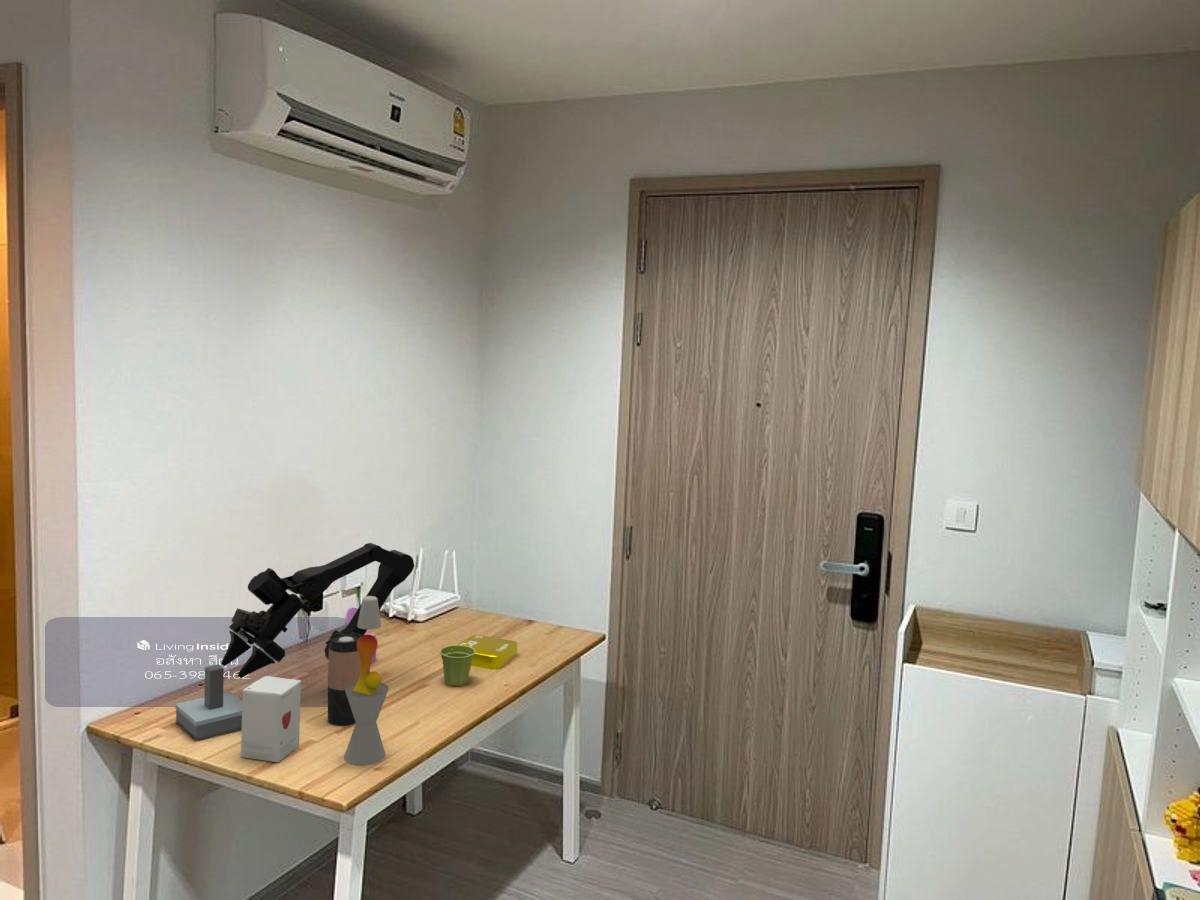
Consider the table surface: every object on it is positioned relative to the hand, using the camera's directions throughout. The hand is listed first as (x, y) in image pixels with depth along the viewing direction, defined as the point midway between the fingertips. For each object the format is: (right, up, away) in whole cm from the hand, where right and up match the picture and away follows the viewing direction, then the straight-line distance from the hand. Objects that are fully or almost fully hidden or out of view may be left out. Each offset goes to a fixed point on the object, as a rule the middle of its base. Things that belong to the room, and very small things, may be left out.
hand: (230, 670), depth 204 cm
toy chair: (+17, -9, +44) cm, 48 cm away
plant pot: (+46, -11, +33) cm, 58 cm away
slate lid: (-3, -9, -2) cm, 10 cm away
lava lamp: (+34, -16, -12) cm, 39 cm away
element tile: (+51, -10, +53) cm, 75 cm away
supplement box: (+14, -15, -12) cm, 24 cm away
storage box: (-3, -12, -1) cm, 13 cm away
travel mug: (+24, -13, +6) cm, 28 cm away
